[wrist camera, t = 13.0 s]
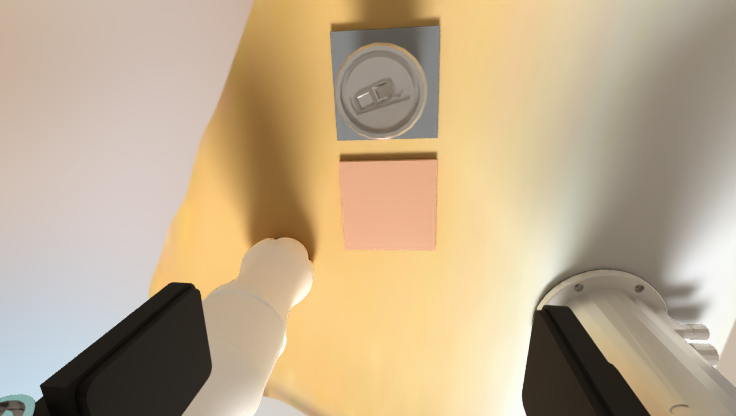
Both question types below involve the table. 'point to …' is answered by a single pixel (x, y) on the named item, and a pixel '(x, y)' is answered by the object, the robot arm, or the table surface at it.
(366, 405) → the table surface
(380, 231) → the terracotta coaster
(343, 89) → the beer can
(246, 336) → the water bottle
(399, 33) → the slate coaster
